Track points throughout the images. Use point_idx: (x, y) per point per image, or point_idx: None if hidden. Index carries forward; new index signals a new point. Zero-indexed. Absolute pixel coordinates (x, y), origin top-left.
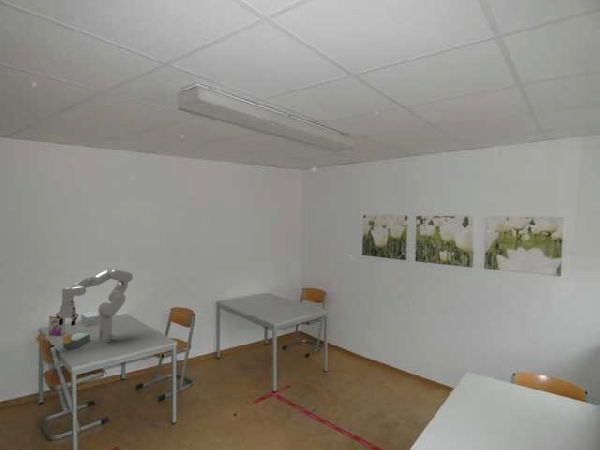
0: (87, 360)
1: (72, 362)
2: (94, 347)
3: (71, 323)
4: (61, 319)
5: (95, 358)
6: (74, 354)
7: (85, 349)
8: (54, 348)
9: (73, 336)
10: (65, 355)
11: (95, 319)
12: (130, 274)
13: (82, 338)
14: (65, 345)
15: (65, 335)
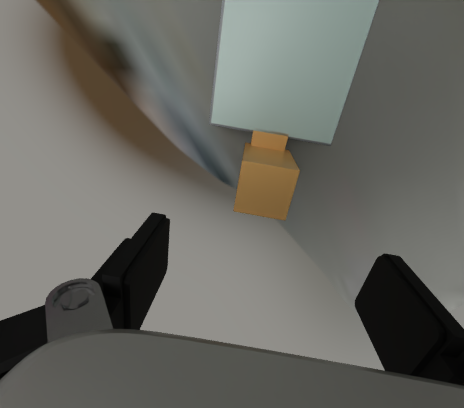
0: None
1: (353, 302)
2: (437, 103)
3: (371, 339)
4: (120, 315)
5: (458, 273)
6: (331, 218)
7: (377, 142)
8: (163, 116)
9: (258, 21)
10: (287, 227)
11: None
12: None
13: (359, 59)
14: None
15: (257, 211)
